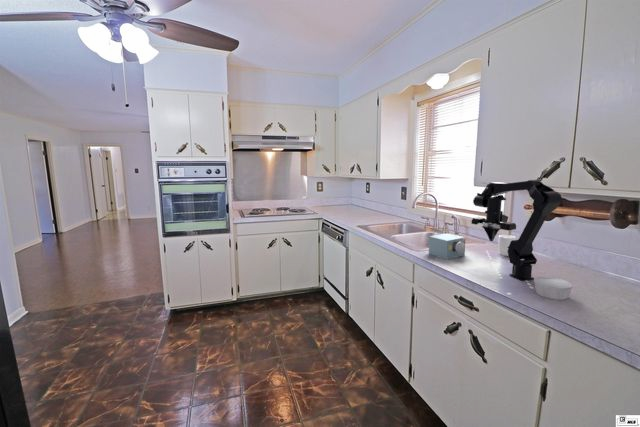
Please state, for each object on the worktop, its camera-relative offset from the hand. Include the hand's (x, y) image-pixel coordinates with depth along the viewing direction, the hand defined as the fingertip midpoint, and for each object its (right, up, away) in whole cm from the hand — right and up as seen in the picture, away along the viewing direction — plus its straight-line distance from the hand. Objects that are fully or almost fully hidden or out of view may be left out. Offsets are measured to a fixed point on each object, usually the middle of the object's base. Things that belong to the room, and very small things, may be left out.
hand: (491, 241), depth 140 cm
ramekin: (+4, -17, -32) cm, 36 cm away
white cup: (+19, -9, +18) cm, 28 cm away
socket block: (-13, -9, +21) cm, 26 cm away
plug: (-12, -7, +18) cm, 23 cm away
